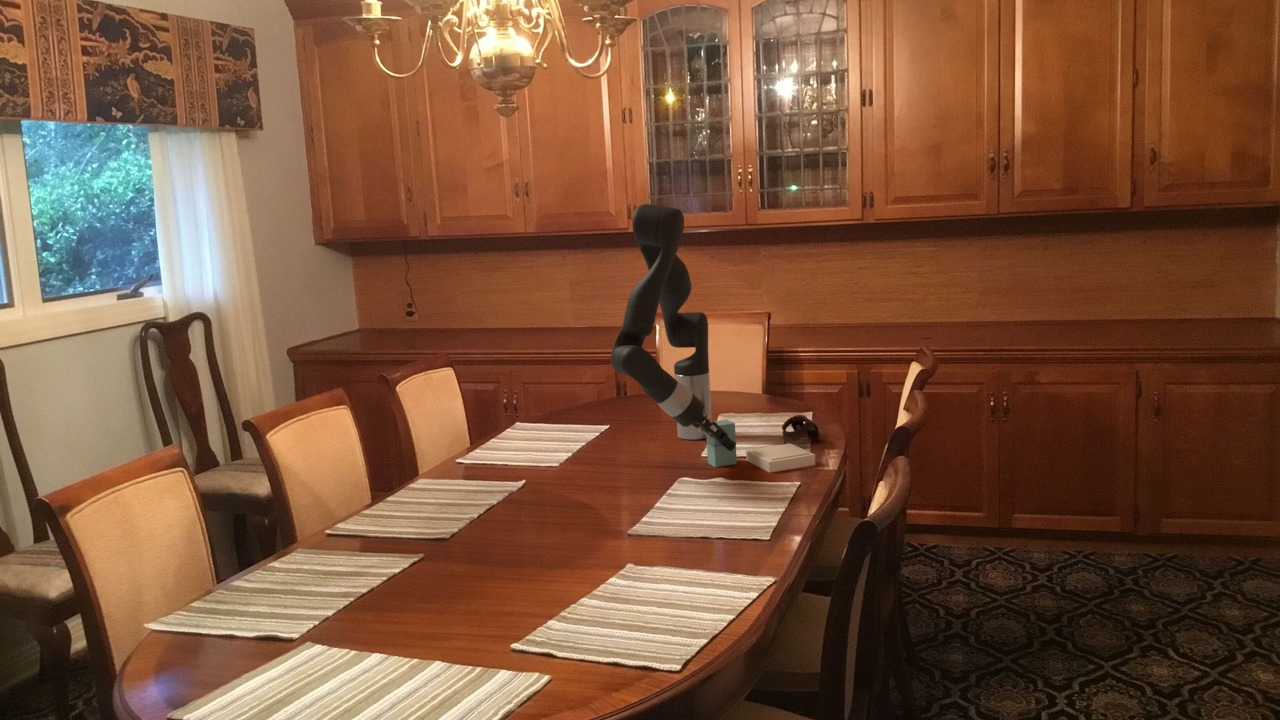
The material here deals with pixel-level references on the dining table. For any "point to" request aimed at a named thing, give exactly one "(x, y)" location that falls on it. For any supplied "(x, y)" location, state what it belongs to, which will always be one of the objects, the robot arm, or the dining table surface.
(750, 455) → the display plinth
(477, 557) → the dining table surface
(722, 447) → the teal rectangular box
